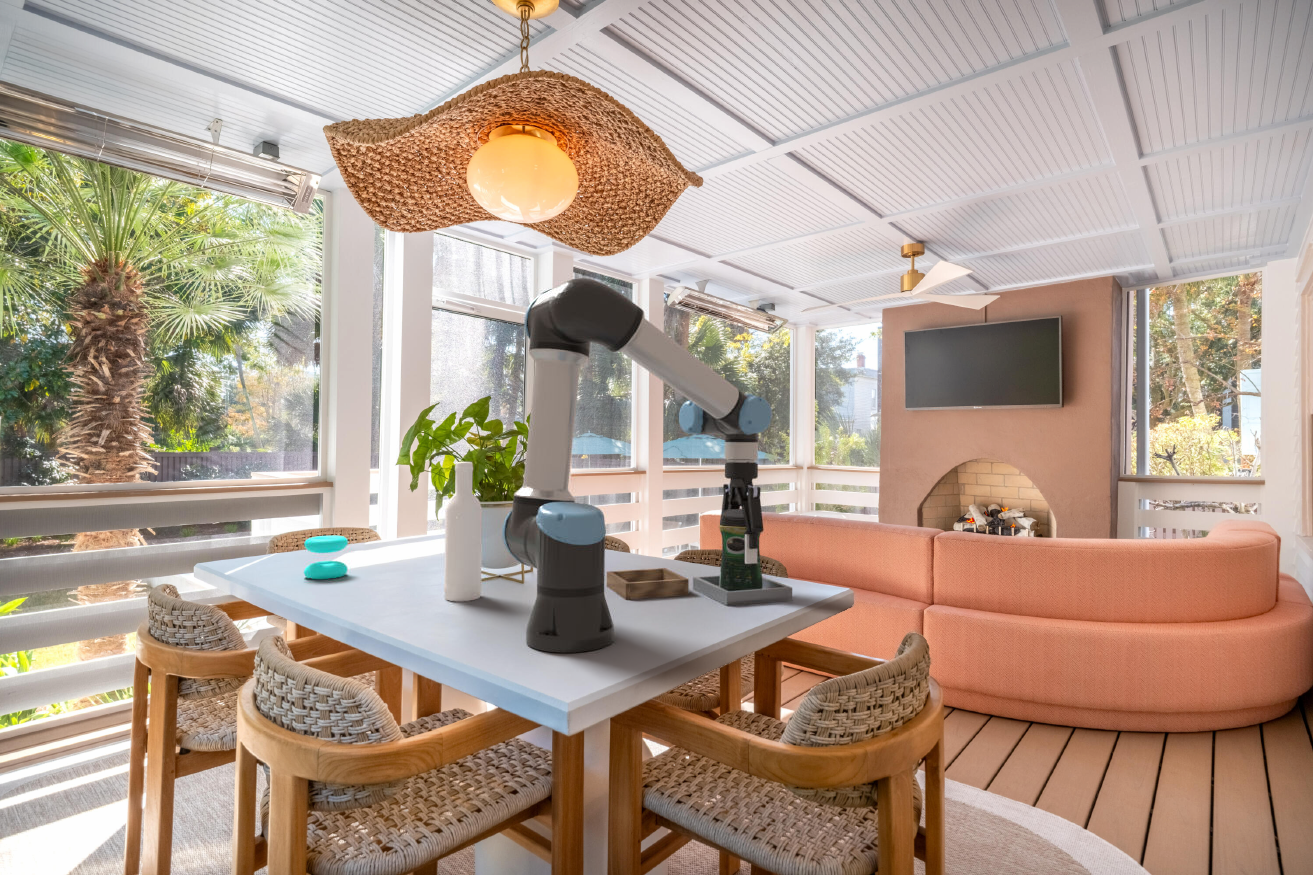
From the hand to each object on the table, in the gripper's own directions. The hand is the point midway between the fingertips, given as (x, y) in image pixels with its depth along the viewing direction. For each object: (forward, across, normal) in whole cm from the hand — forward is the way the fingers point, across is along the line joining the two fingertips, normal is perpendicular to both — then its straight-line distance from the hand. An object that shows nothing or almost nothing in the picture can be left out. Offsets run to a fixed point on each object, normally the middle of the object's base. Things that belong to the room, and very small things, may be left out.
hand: (740, 559), depth 154 cm
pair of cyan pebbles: (+8, +53, +91) cm, 106 cm away
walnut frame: (+8, +11, +19) cm, 23 cm away
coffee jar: (+7, 0, 0) cm, 7 cm away
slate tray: (+8, 0, 0) cm, 8 cm away
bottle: (+8, +17, +60) cm, 63 cm away
